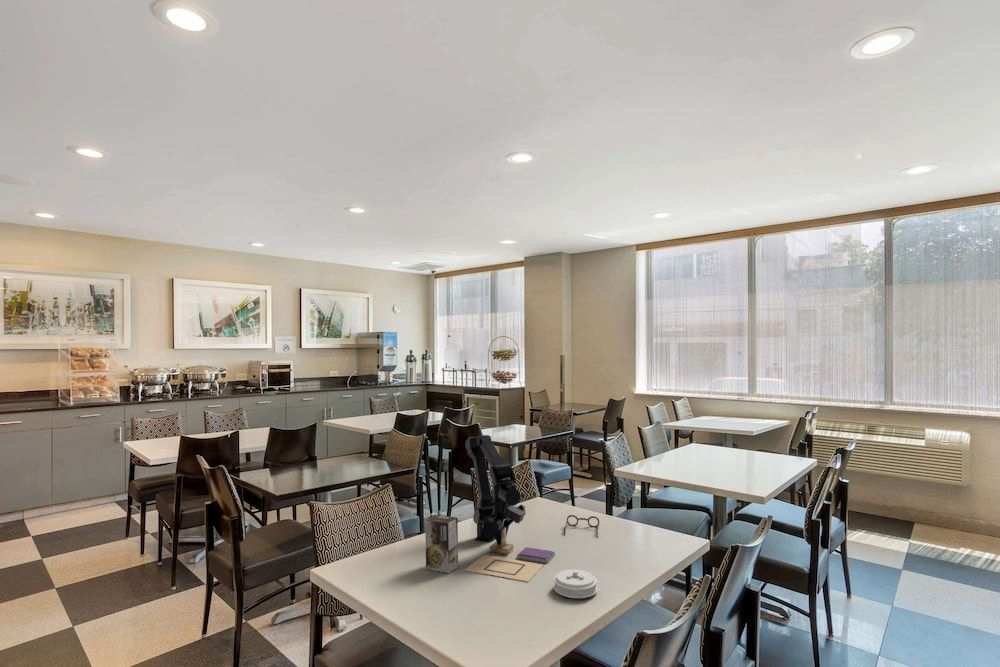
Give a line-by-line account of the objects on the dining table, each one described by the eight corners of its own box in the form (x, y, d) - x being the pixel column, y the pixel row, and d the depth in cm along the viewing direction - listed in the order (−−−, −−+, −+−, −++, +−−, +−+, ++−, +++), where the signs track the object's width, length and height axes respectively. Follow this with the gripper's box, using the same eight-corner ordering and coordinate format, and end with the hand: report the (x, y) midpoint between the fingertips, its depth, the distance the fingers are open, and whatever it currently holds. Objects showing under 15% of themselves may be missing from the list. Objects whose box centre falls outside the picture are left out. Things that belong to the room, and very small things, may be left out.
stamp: (489, 552, 188) (489, 529, 188) (495, 547, 192) (495, 524, 193) (507, 555, 185) (507, 531, 185) (513, 550, 189) (513, 527, 190)
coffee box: (458, 566, 175) (458, 517, 176) (449, 574, 170) (448, 522, 170) (435, 562, 179) (435, 514, 180) (424, 569, 173) (424, 519, 174)
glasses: (599, 528, 214) (599, 515, 214) (598, 539, 202) (598, 526, 202) (566, 526, 217) (566, 513, 217) (563, 537, 204) (563, 523, 205)
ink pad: (516, 558, 182) (516, 554, 182) (525, 550, 189) (525, 546, 189) (547, 563, 177) (547, 558, 177) (554, 555, 185) (554, 550, 185)
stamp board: (464, 570, 172) (464, 569, 172) (484, 555, 185) (484, 554, 185) (528, 582, 163) (528, 580, 163) (543, 565, 176) (543, 564, 176)
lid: (583, 579, 165) (583, 563, 165) (605, 597, 153) (605, 579, 153) (546, 586, 160) (546, 569, 161) (566, 604, 149) (566, 586, 149)
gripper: (511, 508, 178) (511, 555, 177) (531, 494, 195) (532, 537, 194) (481, 504, 182) (482, 550, 182) (503, 491, 199) (504, 533, 199)
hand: (501, 543), depth 189 cm, fingers closed on stamp, 3 cm apart
